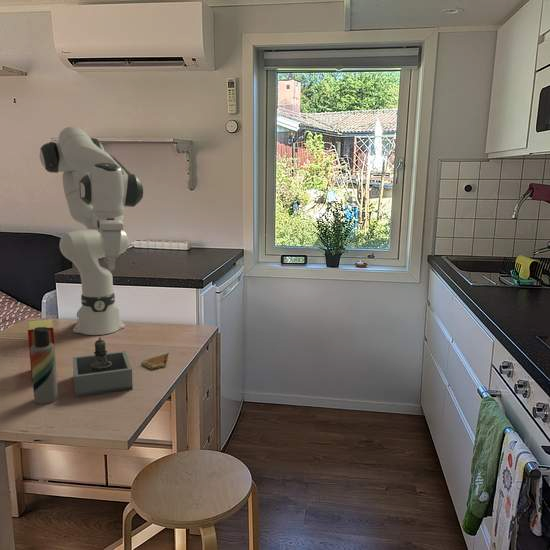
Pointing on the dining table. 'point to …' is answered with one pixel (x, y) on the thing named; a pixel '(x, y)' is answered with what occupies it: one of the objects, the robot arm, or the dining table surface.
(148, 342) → the dining table surface
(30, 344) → the baking soda box
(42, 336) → the lotion bottle
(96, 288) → the robot arm
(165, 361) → the shard
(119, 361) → the box
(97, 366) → the stone chess piece
